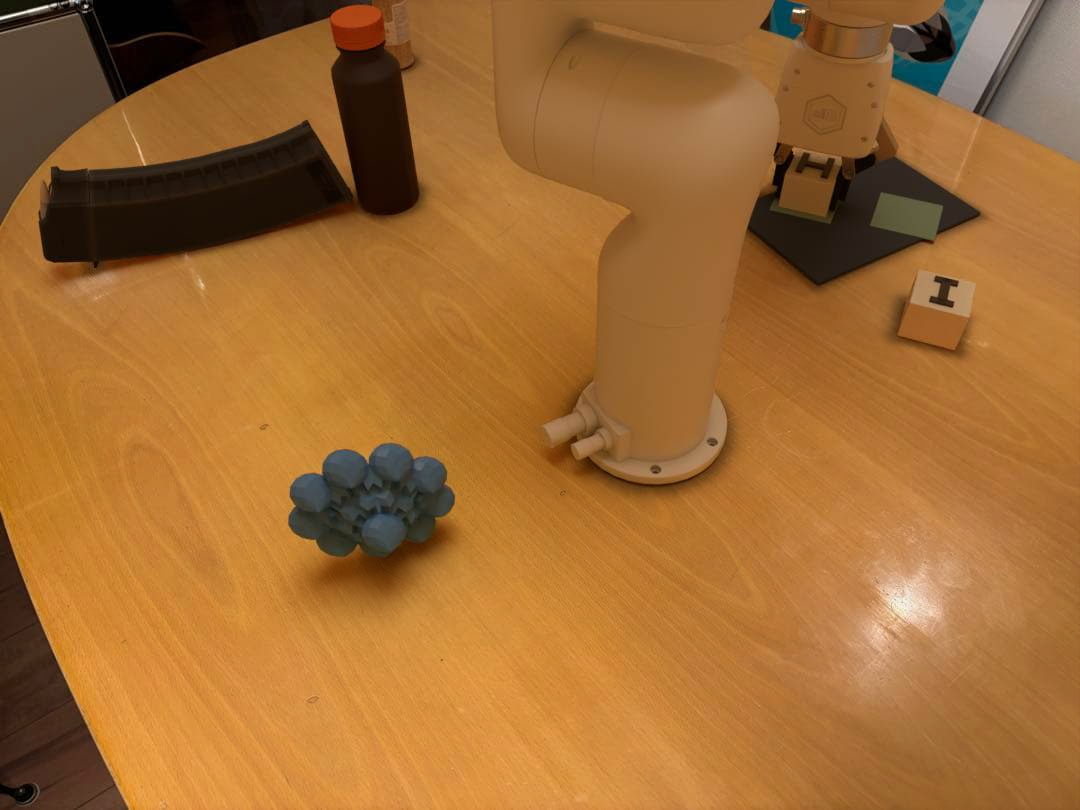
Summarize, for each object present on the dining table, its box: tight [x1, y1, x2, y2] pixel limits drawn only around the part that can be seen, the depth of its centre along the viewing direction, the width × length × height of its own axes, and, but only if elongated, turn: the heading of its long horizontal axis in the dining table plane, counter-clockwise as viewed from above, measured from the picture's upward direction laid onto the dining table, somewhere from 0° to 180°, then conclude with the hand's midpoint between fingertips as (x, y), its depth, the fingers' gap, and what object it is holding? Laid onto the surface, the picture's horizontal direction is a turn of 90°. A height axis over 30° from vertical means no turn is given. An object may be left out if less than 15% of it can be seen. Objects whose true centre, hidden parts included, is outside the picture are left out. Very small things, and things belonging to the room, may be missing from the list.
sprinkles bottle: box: [371, 0, 415, 70], centre depth 111 cm, size 5×5×13 cm
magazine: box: [37, 119, 355, 269], centre depth 88 cm, size 17×3×30 cm
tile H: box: [778, 149, 842, 217], centre depth 91 cm, size 5×5×4 cm
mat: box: [747, 156, 982, 287], centre depth 92 cm, size 22×16×1 cm
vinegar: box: [329, 4, 420, 215], centre depth 88 cm, size 7×7×20 cm
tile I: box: [896, 268, 977, 351], centre depth 79 cm, size 5×5×4 cm
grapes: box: [287, 442, 456, 558], centre depth 60 cm, size 12×7×12 cm, turn 112°
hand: (807, 196), depth 93 cm, fingers closed on tile H, 5 cm apart
